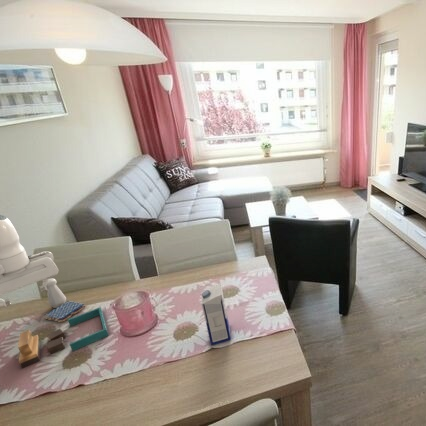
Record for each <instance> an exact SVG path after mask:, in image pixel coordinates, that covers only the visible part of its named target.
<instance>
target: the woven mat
mask: <svg viewBox="0 0 426 426" xmlns="http://www.w3.org/2000/svg"><path fill="white" fill-rule="evenodd" d="M85 307H86V304H84V303H81V302H78V301H71V300H66V302H65V303H64V304H63V305H61V306H59V307H57V308H52V310H51V311H48V313H46V314H44V318H43V319H44V320H48V321H51V320H52V321H54V322H57V323H63V322H66V320H68V319H70V318H72V316H73V315H75V314H77V313H79V312H80V311H81V310H83V309H84V308H85Z"/></svg>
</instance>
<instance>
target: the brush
mask: <svg viewBox="0 0 426 426" xmlns="http://www.w3.org/2000/svg"><path fill="white" fill-rule="evenodd" d="M41 343H42V340H41V339H40V336H39V335H38V334H35V335H32V332H31V330H30V329H27V330H25V331H22V332H20V333H19V339H18V346H17V349H18V350H19V356H18V363H19V365H20V366H21V369H24V368H27V367H28V366H31V365H33V364H36V363H38V362H40V360H41Z"/></svg>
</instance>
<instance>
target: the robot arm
mask: <svg viewBox="0 0 426 426" xmlns="http://www.w3.org/2000/svg"><path fill="white" fill-rule="evenodd" d="M54 260H55V257H54V254H53V252H51V251H45V250H44V251H39V252H38V253H34V254H30V255H28V254H27V251H26V249H25V247H24V246H23V245H22V244H21V241H20V236H19V234H18V231H17V229H16V228H15V226H14V225H13V223H12V222H11V220H10V219H9V218H8V217H7V216H4V215H2V214H0V304H3V306H4V308H6V307H9V306H11V305H12V304H11V302H10V300H9V298H5V299H3V298H2V296H4V295H6V294H8V293H12V292H14V291H16V290H20V289H22V288H25V287H28V286H30V285H32V284H35V283H38V282H40V281H42V284H41V285H39V290H40V291H41V292H42V293H43V292H45V291H46V292H47V290H48V289H47V287H46V286H47V283H48V279H50V278H52V277H54V276H57V275H58V273H59V272H60V270H59V268H58V266H57V265H56V263H55V262H54Z"/></svg>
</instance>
